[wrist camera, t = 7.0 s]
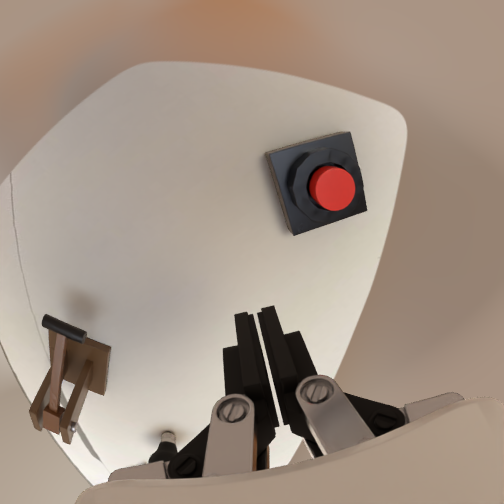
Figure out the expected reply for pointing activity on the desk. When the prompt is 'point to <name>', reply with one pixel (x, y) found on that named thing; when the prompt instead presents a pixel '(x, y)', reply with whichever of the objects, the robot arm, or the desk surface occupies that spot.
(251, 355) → the robot arm
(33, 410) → the bracket
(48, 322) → the lever
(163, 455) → the light bulb
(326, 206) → the button
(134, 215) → the desk surface
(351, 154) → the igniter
